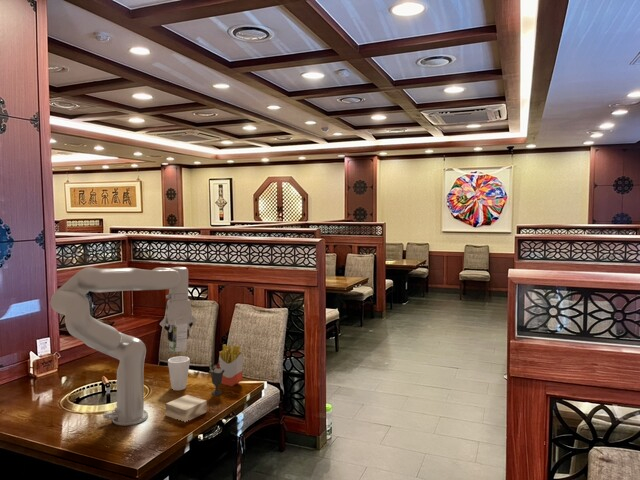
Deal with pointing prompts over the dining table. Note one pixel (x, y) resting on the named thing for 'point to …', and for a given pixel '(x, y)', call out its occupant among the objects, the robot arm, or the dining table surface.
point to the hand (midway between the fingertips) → (178, 339)
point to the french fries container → (231, 364)
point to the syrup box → (179, 338)
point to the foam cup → (178, 372)
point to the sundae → (217, 377)
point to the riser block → (186, 408)
